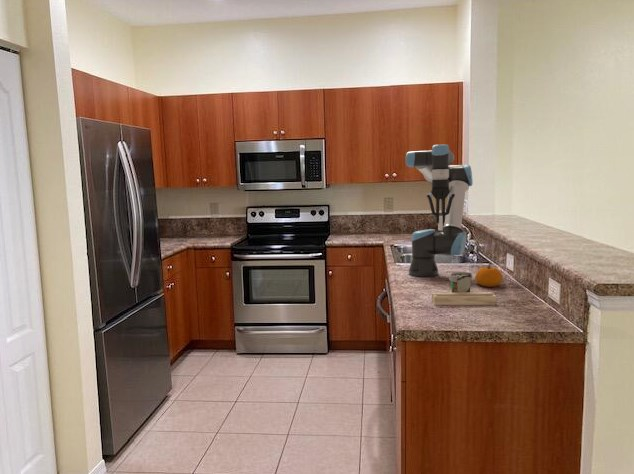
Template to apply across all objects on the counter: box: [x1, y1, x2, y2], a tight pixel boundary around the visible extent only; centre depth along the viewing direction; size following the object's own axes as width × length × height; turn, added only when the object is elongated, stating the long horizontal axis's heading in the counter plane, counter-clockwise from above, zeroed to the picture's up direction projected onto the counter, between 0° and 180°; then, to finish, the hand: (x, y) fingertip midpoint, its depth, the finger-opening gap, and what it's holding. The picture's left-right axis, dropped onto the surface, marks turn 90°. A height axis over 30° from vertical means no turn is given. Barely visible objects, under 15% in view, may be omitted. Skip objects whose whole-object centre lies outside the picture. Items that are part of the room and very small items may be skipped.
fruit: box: [475, 264, 503, 288], centre depth 221 cm, size 12×12×10 cm
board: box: [431, 291, 497, 306], centre depth 194 cm, size 6×24×4 cm, turn 85°
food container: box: [448, 271, 473, 293], centre depth 202 cm, size 12×6×10 cm, turn 133°
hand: (440, 229), depth 223 cm, fingers closed
